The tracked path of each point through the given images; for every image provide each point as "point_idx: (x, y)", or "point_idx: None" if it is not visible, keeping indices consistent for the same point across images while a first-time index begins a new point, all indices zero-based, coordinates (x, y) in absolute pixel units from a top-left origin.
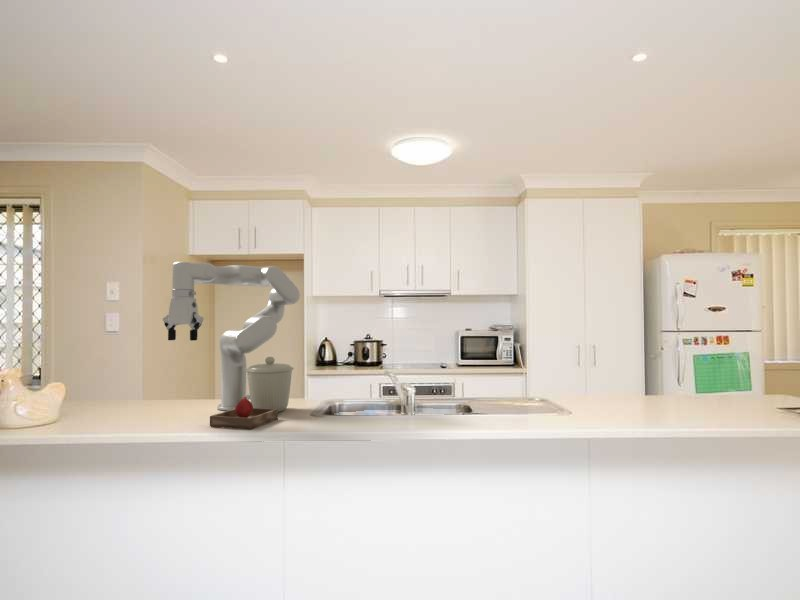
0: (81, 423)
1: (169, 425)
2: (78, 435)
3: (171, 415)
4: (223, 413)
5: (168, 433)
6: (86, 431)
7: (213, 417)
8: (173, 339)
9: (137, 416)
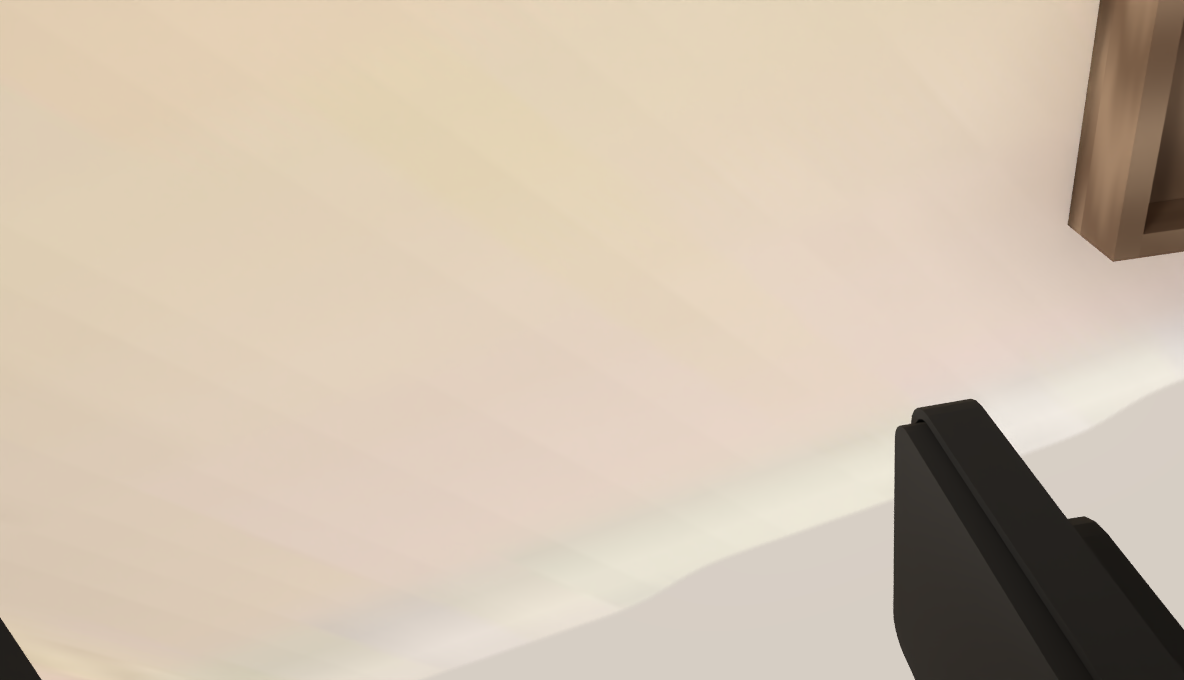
0: (10, 519)
1: (717, 313)
2: (402, 663)
3: (365, 35)
4: (1161, 113)
5: None
6: (334, 608)
7: (1145, 252)
8: (19, 664)
9: (103, 201)
